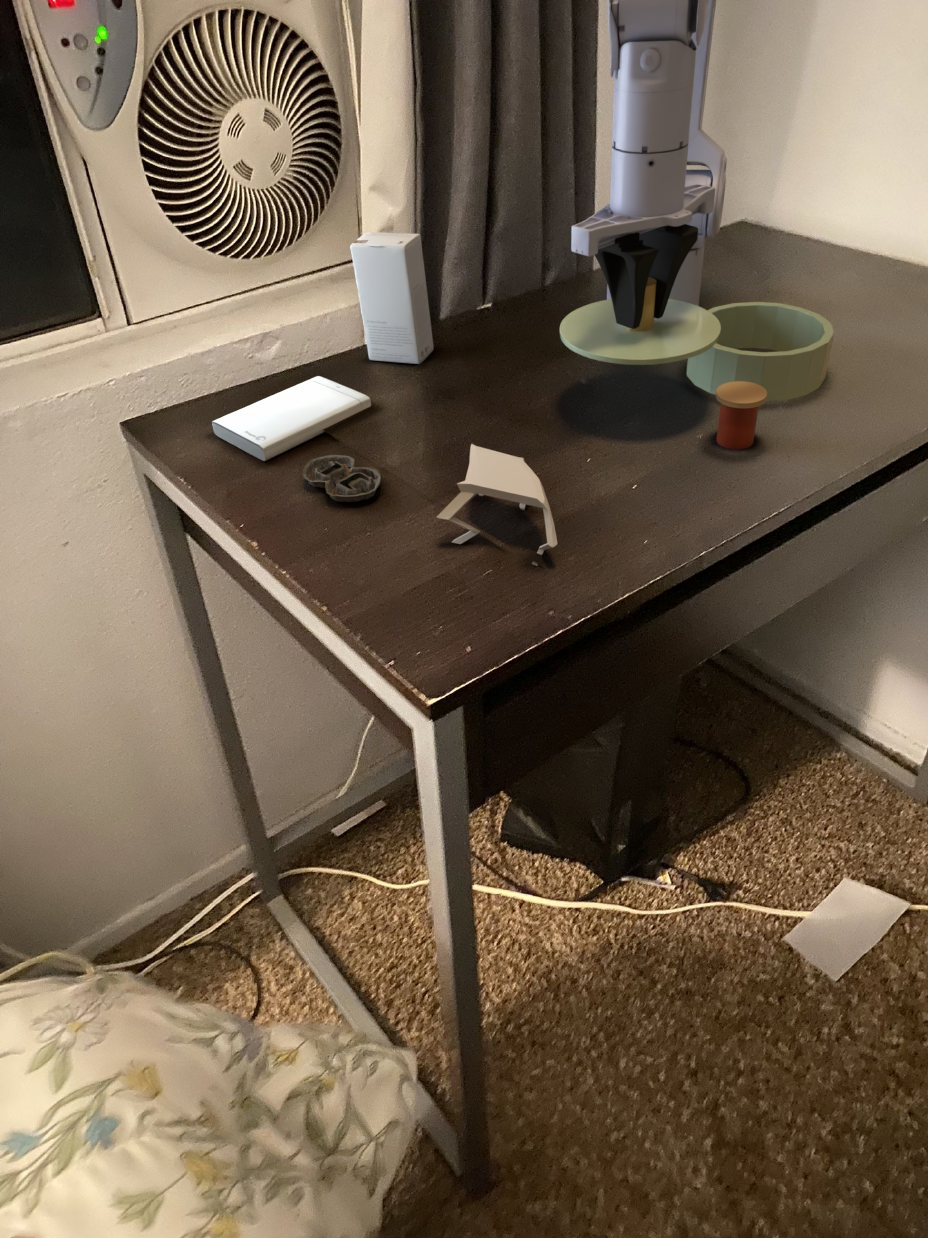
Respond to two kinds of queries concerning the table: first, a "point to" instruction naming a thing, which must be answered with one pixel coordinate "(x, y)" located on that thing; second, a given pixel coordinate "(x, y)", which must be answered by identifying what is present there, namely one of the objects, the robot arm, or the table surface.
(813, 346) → the tin
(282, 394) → the hard drive
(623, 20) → the robot arm
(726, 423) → the spool
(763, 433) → the table surface
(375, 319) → the cosmetic box
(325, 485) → the corroded twin loop
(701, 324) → the lid
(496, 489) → the beige angled stand
